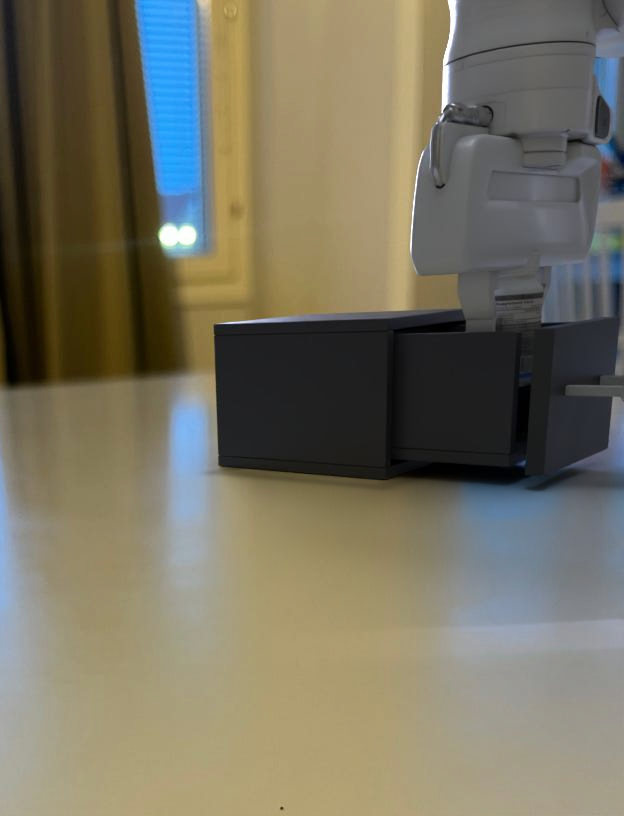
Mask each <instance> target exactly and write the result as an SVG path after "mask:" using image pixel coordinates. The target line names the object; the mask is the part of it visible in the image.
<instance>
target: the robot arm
mask: <svg viewBox="0 0 624 816" xmlns="http://www.w3.org/2000/svg"><path fill="white" fill-rule="evenodd" d="M447 3H448V8H449V13H450V32H449V37H448V38H449V39H448V42H447V46H446V49H445V51H444V57H443V61H442V62H443V63H442V91H441V114H440V115H439V117H438V119H437V120H436V123H434V124H433V125H432V127H431V131H430V141H429V144H427V145H426V147H425V148H424V149H423V151H422V153H421V156H420V159H419V162H418V167H417V172H416V178H415V187H414V188H415V189H414V197H413V207H412V217H411V218H412V219H411V232H410V258H411V262H412V265H413V268H414V270H415V273H416V275H418V276H420V277H426V276H427V277H430V276H445V275H457V286H456V287H457V288H456V293H457V294H456V295H457V298H458V300H459V303H460V308H462V310H463V314H464V317H465V320H466V332H496V331H501V329H502V318H497V311H496V302H495V293H494V290H498V287H499V270H508V269H519V268H522V267H524V266H525V265H526V264H527V262H528V259H529V257H530V253H531V252H534V251H539V252H540V259H539V270H538V272H539V273H538V274H536V275H535V280H536V281H537V282H539V283H540V284H541V285H542V287H543V291H544V294H543V305H542V308H543V306H544V305H545V302H546V299H547V296H548V292H549V290H550V287H551V283H552V268H553V267H557V266H567V265H570V266H571V265H579V264H582V263H584V262H585V261H586V259H587V256H588V254H589V251H590V249H591V247H592V244H593V240H594V235H595V228H596V221H597V215H598V209H599V199H600V191H601V183H602V172H603V171H602V169H603V161H602V154H601V153H602V152H601V151H600V148H599V147H598V146H603V145H606V144H608V143H610V141H611V139H612V133H613V123H614V113H613V110H612V107H611V105H610V104H609V103H608V102H607V100H606V98H605V97H604V95H603V93H602V91H601V90H600V86H599V82H598V76H597V74H595V67H596V59H619V58H624V0H447Z"/></svg>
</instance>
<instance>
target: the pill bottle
mask: <svg viewBox="0 0 624 816" xmlns="http://www.w3.org/2000/svg"><path fill="white" fill-rule="evenodd" d="M539 259H540V252H539V251H534V252H531V253H530V257H529V259H528V262H527V264H526V265H525V266H524V267H522V268H519V269H508V270H499V287H498V290H494V293H495V302H496V311H497V318H502V329H501V331H522V343H521V359H520V375H519V387H521V386H528V385H531V378H532V363H533V348H534V333H535V329H536V328H541V322H542V318H543V315H542V314H543V307H542V305H543V306H544V304H543V294H544V291H543V287H542V285H541V284H540V283H539V282H537V281H536V280H535V275H536V274H538V273H539V272H538V270H539Z"/></svg>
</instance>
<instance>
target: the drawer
mask: <svg viewBox="0 0 624 816" xmlns="http://www.w3.org/2000/svg"><path fill="white" fill-rule="evenodd" d="M620 323H621V317H620V316H601V317H595V318H589V319H584V320H578V321H577V320H576V321H547V322H546V321H545V322H544V321H543V322H542V321H541V328H536V329H535V333H534V348H533V363H532V378H531V385H528V386H521V387H519V375H520V359H521V343H522V331H496V332H466V325H433V326H423V327H416V328H408V329H401V330H394V331H393V376H392V421H391V459H399V460H413V461H428V462H435V463H443V464H457V465H472V466H473V465H474V466H487V467H499V468H500V467H501V468H502V467H503V468H510V467H513V466H515V465H517V464H520V463H524V462H525V466H524V467H525V468H524V475H525V476H531V477H545V476H547V475H548V476H549V474H553V473H554V472H557V471H559V470H561V469H564V468H566V467H569V466H570V465H573V464H576V463H578V462H580V461H582V460H584V459H587V458H590V457H592V456H594V455H596V454H599V453H601V452H603V451H606V450H608V449H609V440H610V431H611V430H610V429H611V419H612V418H611V417H612V409H613V408H612V407H613V398H620V399H621V401H622V402H624V375H623V374H622V375H619V374H617V375H616V367H617V356H618V355H617V354H618V345H619V332H620Z"/></svg>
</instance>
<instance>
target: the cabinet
mask: <svg viewBox="0 0 624 816" xmlns="http://www.w3.org/2000/svg"><path fill="white" fill-rule="evenodd" d="M433 325H466V320H465V317H464V314H463V310H462V307H458V308H437V309H436V308H435V309H411V310H410V309H409V310H386V311H383V310H382V311H381V310H380V311H359V312H358V311H355V312H333V313H307V314H298V315H288V316H287V315H286V316H278V317H269V318H259V319H250V320H249V319H248V320H239V321H230V322H222V323H214V324H213V349H214V372H215V373H214V374H215V375H214V377H215V378H214V379H215V405H216V406H215V407H216V409H215V410H216V431H217V432H216V435H217V436H216V437H217V455H218V456H217V463H218V466H220V467H229V468H230V467H231V468H243V469H253V470H267V471H277V472H289V473H291V472H292V473H302V474H313V475H323V476H324V475H325V476H337V477H348V478H350V477H351V478H359V479H374V480H382V481H383V480H384V481H385V480H388V479H391V478H394V477H396V476H400V475H402V474H405V473H408V472H411V471H414V470H418V469H420V468H424V467H426V466H429V465H431V464H432V465H433V464H434V463H436V462H428V461H413V460H399V459H391V421H392V376H393V331H394V330H401V329H408V328H416V327H423V326H433Z"/></svg>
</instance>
